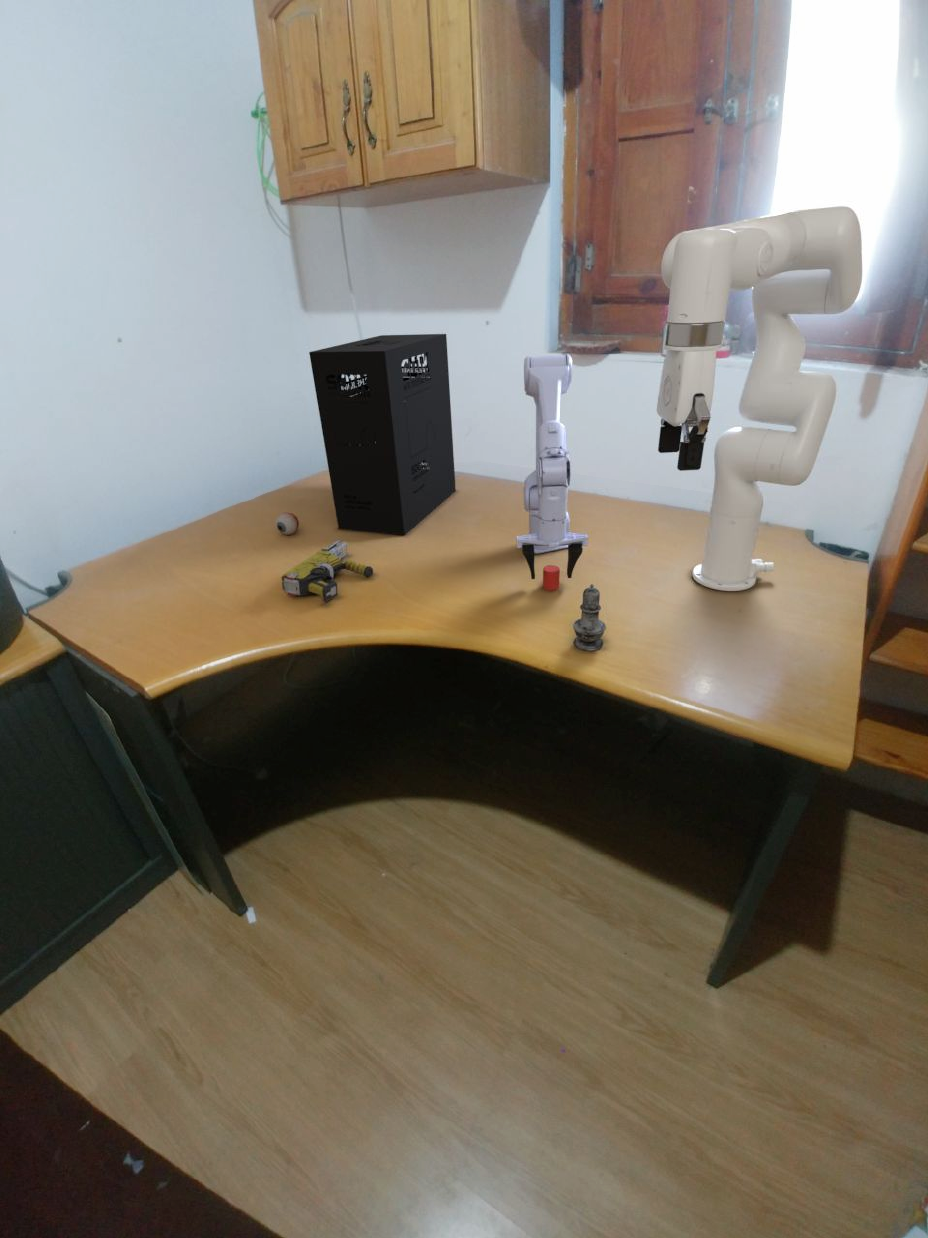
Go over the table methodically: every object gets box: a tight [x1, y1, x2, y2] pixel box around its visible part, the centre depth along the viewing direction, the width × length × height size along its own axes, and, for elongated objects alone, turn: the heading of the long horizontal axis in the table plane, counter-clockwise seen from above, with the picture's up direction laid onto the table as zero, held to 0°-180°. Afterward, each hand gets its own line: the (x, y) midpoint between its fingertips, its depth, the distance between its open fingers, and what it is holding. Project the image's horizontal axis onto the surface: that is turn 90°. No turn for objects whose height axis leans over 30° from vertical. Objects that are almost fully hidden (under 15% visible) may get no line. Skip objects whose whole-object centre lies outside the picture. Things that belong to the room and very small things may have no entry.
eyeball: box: [275, 511, 300, 536], centre depth 163 cm, size 6×6×6 cm
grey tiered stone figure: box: [572, 583, 607, 652], centre depth 107 cm, size 6×6×12 cm
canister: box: [542, 564, 561, 591], centre depth 129 cm, size 4×4×4 cm
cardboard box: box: [308, 333, 457, 536], centre depth 167 cm, size 38×20×45 cm, turn 160°
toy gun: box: [281, 539, 374, 603], centre depth 138 cm, size 5×24×15 cm
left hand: (550, 576), depth 129 cm, fingers open, 7 cm apart
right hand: (678, 460), depth 91 cm, fingers open, 9 cm apart
